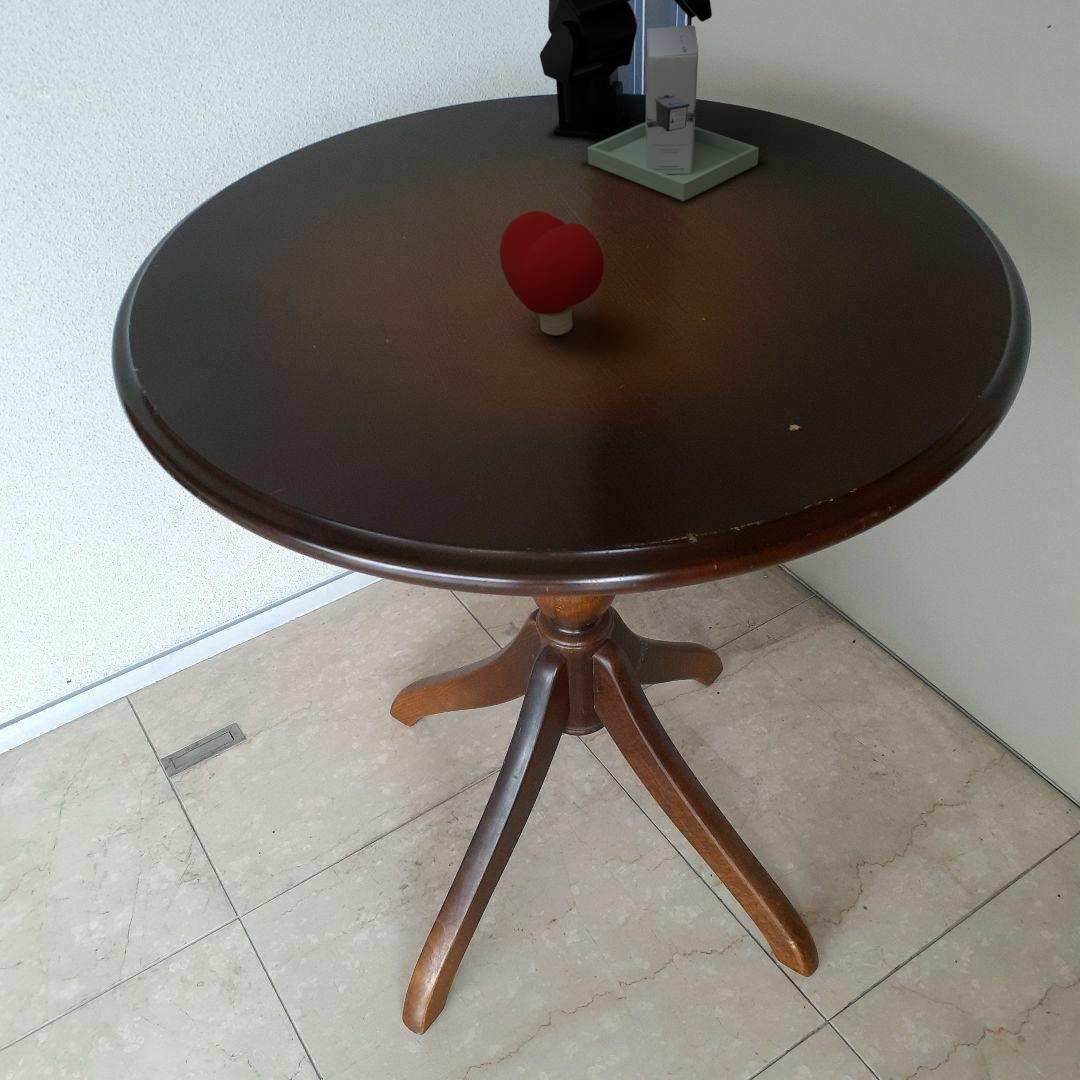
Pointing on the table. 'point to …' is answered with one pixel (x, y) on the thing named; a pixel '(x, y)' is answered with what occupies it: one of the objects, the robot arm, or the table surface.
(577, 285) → the red heart on stand
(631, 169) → the tray
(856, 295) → the table surface
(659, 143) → the ink box
